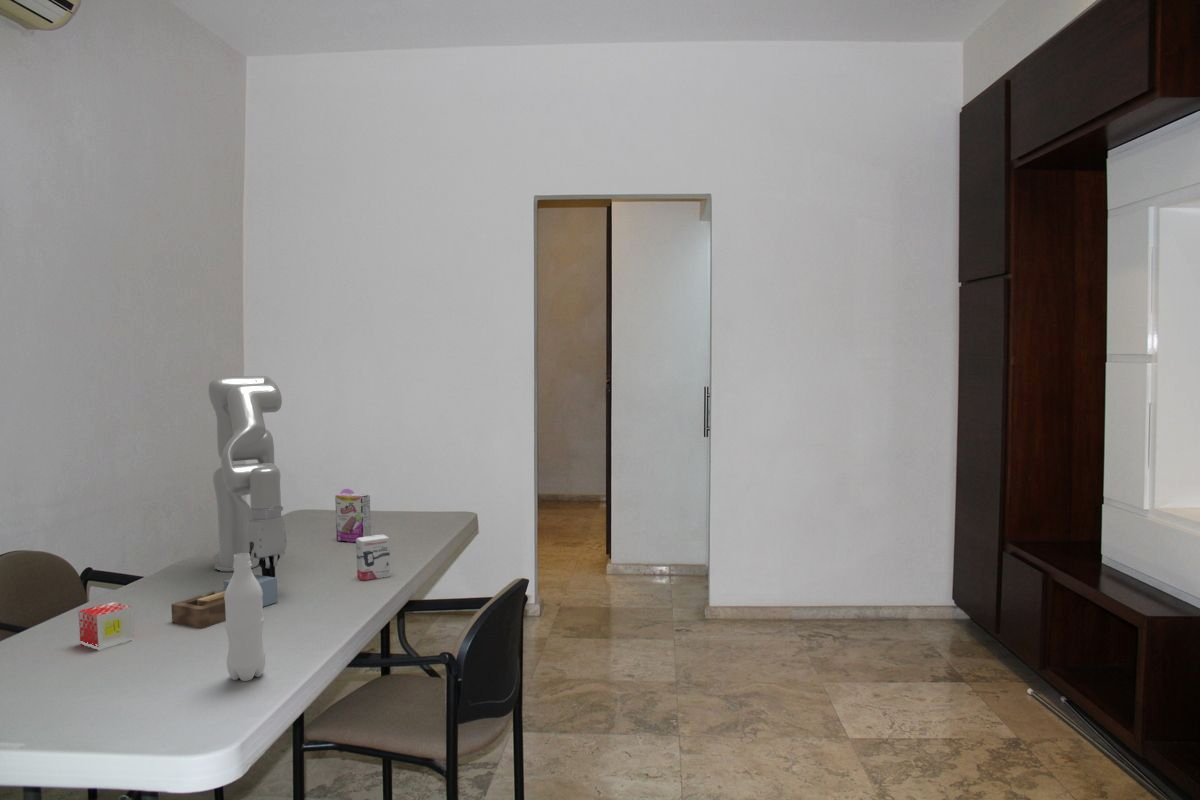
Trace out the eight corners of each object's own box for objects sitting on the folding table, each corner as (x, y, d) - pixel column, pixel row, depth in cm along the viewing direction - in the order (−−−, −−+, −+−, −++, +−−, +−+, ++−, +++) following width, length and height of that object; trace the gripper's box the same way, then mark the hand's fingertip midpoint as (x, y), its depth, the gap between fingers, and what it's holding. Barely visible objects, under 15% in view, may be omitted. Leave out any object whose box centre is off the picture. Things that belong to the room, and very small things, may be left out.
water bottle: (234, 671, 175) (229, 551, 174) (270, 669, 176) (265, 549, 174) (222, 684, 168) (216, 559, 166) (259, 682, 168) (254, 558, 167)
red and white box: (98, 651, 189) (96, 616, 188) (80, 645, 193) (78, 611, 193) (134, 640, 196) (132, 606, 195) (115, 635, 200) (114, 601, 199)
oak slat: (197, 619, 211) (196, 599, 211) (250, 602, 225) (250, 583, 225) (208, 621, 209) (207, 601, 209) (261, 603, 224) (260, 585, 223)
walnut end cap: (170, 622, 208) (169, 604, 208) (213, 608, 219) (212, 591, 219) (203, 628, 203) (203, 610, 203) (245, 614, 214) (244, 596, 213)
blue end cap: (224, 605, 221) (223, 580, 221) (250, 597, 228) (249, 573, 228) (252, 610, 216) (251, 585, 216) (277, 601, 224) (276, 577, 223)
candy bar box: (335, 542, 296) (334, 495, 295) (344, 539, 300) (343, 493, 299) (363, 543, 292) (361, 496, 291) (371, 540, 297) (370, 494, 296)
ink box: (362, 581, 243) (360, 540, 243) (356, 577, 247) (355, 537, 247) (391, 576, 248) (389, 536, 247) (385, 573, 252) (384, 533, 251)
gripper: (278, 507, 235) (280, 573, 236) (232, 517, 221) (235, 586, 223) (298, 509, 231) (300, 576, 232) (253, 519, 218) (255, 590, 219)
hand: (268, 581), depth 227 cm, fingers closed
